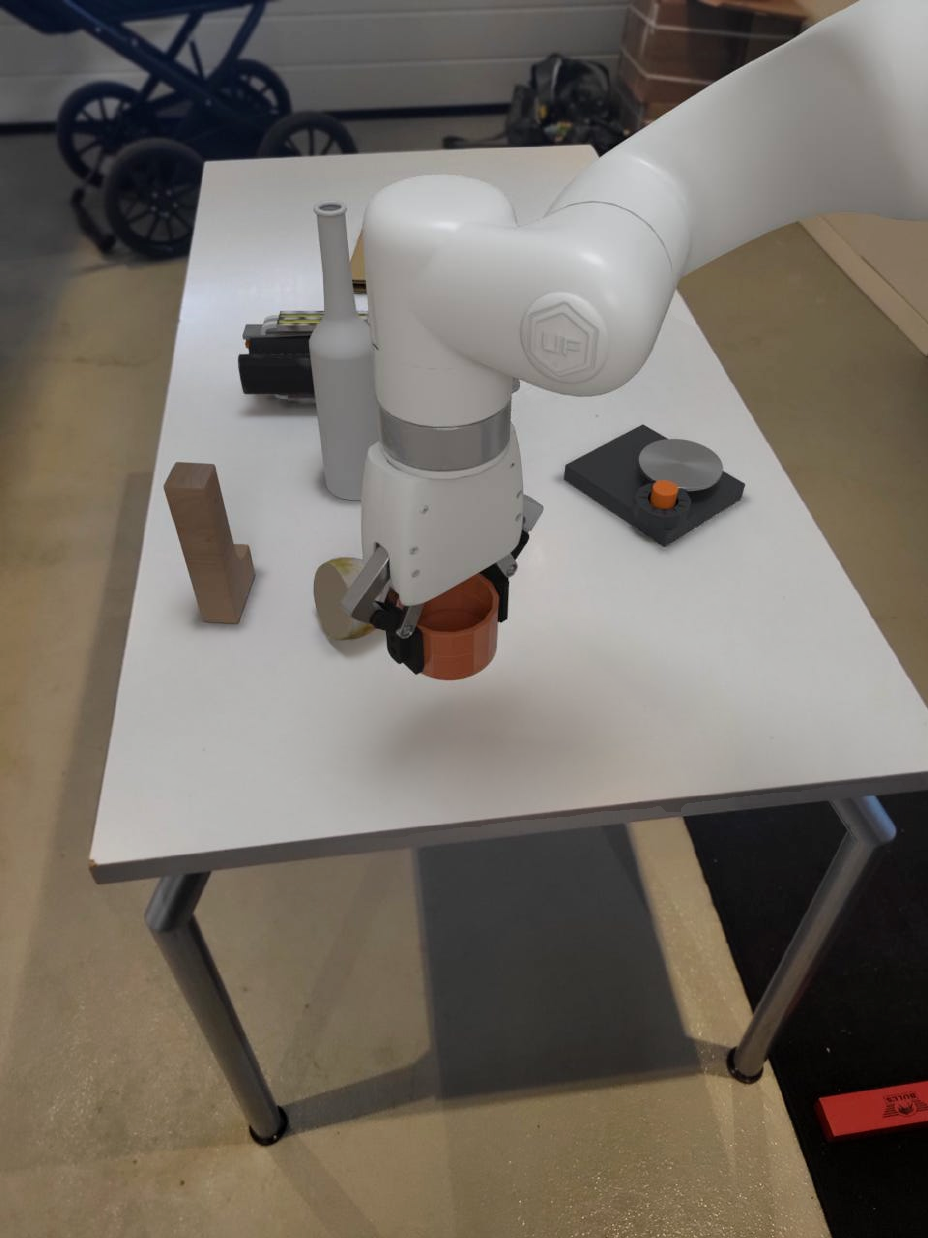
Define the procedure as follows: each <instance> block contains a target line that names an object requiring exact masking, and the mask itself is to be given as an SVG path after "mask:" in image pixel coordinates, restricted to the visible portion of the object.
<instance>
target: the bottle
mask: <svg viewBox="0 0 928 1238" xmlns="http://www.w3.org/2000/svg"><path fill="white" fill-rule="evenodd" d="M312 209H313V212H314V214H316V223H317V231H318V232H317V233H318V241H319V251H320V262H321V271H322V288H323V290H322V291H323V292H322V293H323V311H324V316H323V318H322V320H321V321H320V323H319V324H318V325H317V326H316V328H315V329H314V331H313V333H312V335H311V337H310V339H309V348H310V357H311V365H312V374H313V382H314V390H315V399H316V403H315V406H316V414H317V423H318V424H317V425H318V432H319V439H320V448H321V457H322V464H323V465H322V466H323V473H324V481H325V487H326V489H327V491H328V492H329V493H330V494H331V495H333V496H334V497H337V498H338V499H342V500H347V501H361V498H362V485H363V476H364V469H365V463H366V458H367V453H368V449H369V447H370V446H372V445H373V444H375V443H377V442H378V441H380V440H379V428H378V417H377V405H376V392H375V381H374V369H373V358H372V346H371V335H370V326H369V325H368V324H367V323H366V322H365V321H364V320H363V319H362V318H361V317H360V316H359V315H358V313H357V311H358V310H357V305H356V298H355V293H354V291H353V284H352V278H351V270H350V261H351V258H350V250H349V239H348V230H347V229H348V228H347V219H346V212H347V211H348V205H347V204H346V203H345V202H343V201H340V200H336V199H327V200H322V201H318V202H317V203H315V204H314V206H313V208H312Z"/></svg>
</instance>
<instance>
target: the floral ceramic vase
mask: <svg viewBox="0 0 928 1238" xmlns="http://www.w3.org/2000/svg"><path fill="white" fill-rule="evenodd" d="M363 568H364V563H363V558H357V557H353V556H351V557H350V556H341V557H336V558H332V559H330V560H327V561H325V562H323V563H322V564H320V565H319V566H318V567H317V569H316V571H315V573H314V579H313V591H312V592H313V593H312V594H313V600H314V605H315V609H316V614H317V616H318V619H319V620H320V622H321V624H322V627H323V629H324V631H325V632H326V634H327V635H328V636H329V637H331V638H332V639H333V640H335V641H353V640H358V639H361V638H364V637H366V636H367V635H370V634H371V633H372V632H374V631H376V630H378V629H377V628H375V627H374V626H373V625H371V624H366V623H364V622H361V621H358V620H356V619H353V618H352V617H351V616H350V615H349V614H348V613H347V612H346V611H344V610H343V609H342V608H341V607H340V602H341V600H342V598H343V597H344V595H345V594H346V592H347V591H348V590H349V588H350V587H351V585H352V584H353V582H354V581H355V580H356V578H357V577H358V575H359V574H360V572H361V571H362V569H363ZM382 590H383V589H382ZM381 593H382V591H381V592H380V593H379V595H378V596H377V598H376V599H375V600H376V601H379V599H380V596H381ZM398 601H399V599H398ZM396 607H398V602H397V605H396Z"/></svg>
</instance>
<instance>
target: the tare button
mask: <svg viewBox="0 0 928 1238" xmlns="http://www.w3.org/2000/svg"><path fill="white" fill-rule="evenodd" d="M677 493H678V487H677V485H676V484H674V483H673V482H671V481H667V480H661V481H657V482H655V483H654V485H653V488H652V493H651V498H650V502H651V504H652V505H653V506H655V507H658V508H663V509H668V508H672V507H673V506H674V505H675V502H676V498H677Z"/></svg>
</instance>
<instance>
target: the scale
mask: <svg viewBox="0 0 928 1238" xmlns="http://www.w3.org/2000/svg"><path fill="white" fill-rule="evenodd" d="M665 439H669V438H668V437H666V436H664V435H663V434H661V433H659V432H657V431H655V430H654V429H653V428H651V427H649V426H647V425H645V424H643V423H642V424H641V425H638V426H637V427H635V428H632V429H631V430H629V431H627V432H625V433H623V434H622V435H621V434H620V436H618V437H615V438H614V439H611V440H610V441H607V442H606V443H604V444H602V445H600V446H598V447H596V448H595V449H593V450H591V451H589V452H587V453H585V454H583V455H581V456H580V457H578V458H576V459H574V460H572V461H570V462H568V463H566V464H565V465H564V471H563V472H564V473H563V481H565V482H567V483H569V485H571V486H573V487H574V488H576V489H577V490H579V491H580V492H581V493H583V494H585V495H586V496H588V497H589V498H591V499H592V500H594V501H596V502H597V503H598V504H600V505H601V506H603V508H606V509H607V510H608V511H610V512H612V513H613V514H614V515H616V516H618V517H619V518H621V519H622V520H624V521H625V522H627V523H628V524H629V525H631V526H632V527H634V528H635V529H637V530H638V531H640V532H642V533H643V534H644V535H646V536H647V537H649V538H650V539H652V540H653V541H655V542H656V543H658V544H660V545H661V546H662V547H666V546H668V545H670V544H671V543H673V542H674V541H676V540H678V539H679V538H682V537H683V536H684V535H685V534H687V533H689V532H691V531H692V530H694V529H695V528H697V527H698V526H700V525H702V524H703V523H705V522H706V521H708V520H709V519H711V518H712V517H714V516H716V515H717V514H719V513H721V512H722V511H724V510H726V509H727V508H729V507H730V506H732V505H733V504H735V503H736V502H738V501H740V500H741V499H742V498H743V495H744V491H745V488H746V483H745V482H743V481H741V480H739V479H738V478H736V477H735V476H733V475H731V474H730V473H728V472H726V471H724V470H723V473H722V476H721V478H720V479H719V481H718V482H717V483H716V484H714V485H713V486H711V487H709V488H706V489H703V490H698V491H678V493H677V498H676V502H675V505H674V506H673V507H672V508H668V509H663V508H658V507H655V506H653V505H652V504H651V502H650V498H651V493H652V488H653V485H654V483H653V482H652V481H650V480H649V479H648V478H647V477H645V476H644V474H643V473H642V472H641V470H640V468H639V465H638V459H639V455H640V453H641V451H642V450H643V449H644V448H645V447H646V446H647V445H649V444H651V443H653V442H656V441H659V440H665Z"/></svg>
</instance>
